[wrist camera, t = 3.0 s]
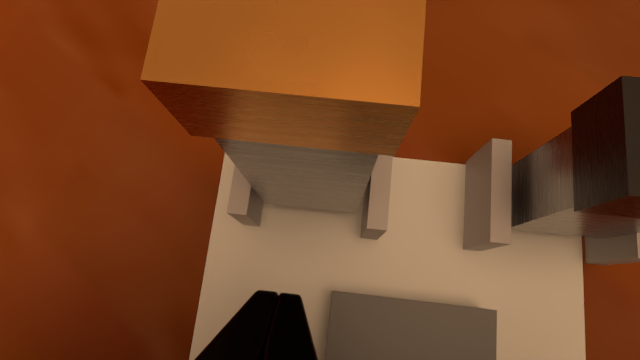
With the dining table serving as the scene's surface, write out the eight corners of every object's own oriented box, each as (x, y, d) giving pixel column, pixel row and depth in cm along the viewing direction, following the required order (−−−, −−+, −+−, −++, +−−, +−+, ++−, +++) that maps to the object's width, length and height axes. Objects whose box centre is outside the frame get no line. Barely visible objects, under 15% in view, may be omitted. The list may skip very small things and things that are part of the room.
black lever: (598, 247, 14) (823, 215, 8) (493, 236, 14) (629, 195, 8) (595, 177, 15) (803, 92, 8) (494, 166, 15) (621, 75, 8)
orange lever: (360, 222, 14) (419, 106, 5) (260, 211, 15) (140, 80, 5) (366, 154, 15) (429, -62, 6) (270, 145, 15) (177, -82, 6)
